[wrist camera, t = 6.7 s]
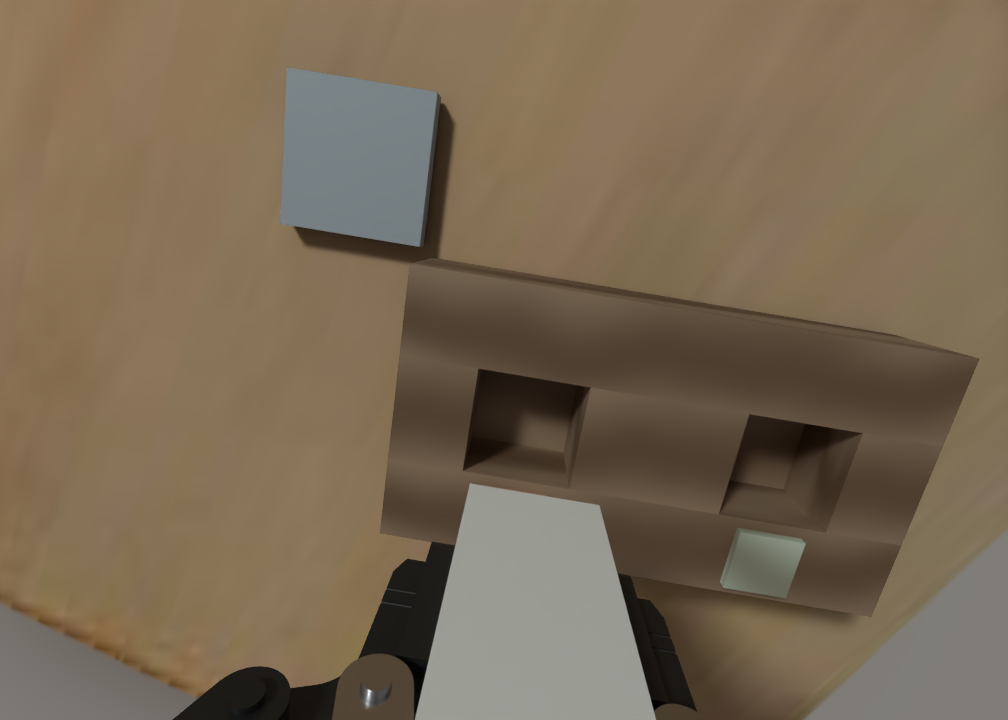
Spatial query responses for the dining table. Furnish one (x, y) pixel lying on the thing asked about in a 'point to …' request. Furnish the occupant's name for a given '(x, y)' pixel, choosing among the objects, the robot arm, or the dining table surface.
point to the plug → (533, 618)
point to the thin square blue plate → (358, 156)
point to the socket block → (670, 429)
